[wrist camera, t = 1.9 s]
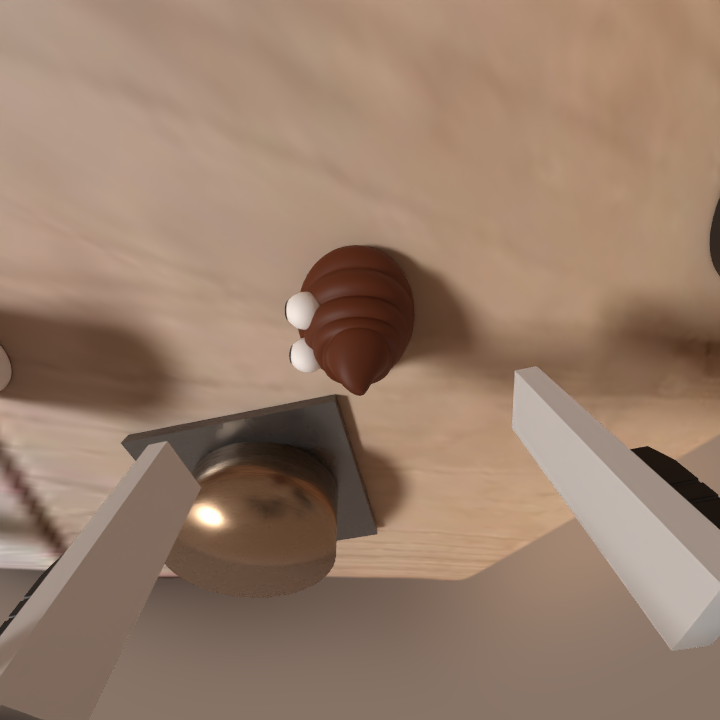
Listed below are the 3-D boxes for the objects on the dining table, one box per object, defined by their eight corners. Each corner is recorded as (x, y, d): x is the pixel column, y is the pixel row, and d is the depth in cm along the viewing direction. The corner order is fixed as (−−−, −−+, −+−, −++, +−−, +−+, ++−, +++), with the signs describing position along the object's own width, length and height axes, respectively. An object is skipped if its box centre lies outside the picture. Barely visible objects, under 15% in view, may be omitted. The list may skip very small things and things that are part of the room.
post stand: (335, 394, 26) (331, 454, 20) (376, 525, 36) (382, 593, 30) (127, 435, 28) (66, 502, 22) (220, 551, 38) (196, 620, 31)
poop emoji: (402, 368, 26) (427, 450, 17) (301, 367, 25) (279, 451, 17) (416, 244, 21) (460, 276, 13) (291, 241, 20) (253, 273, 12)
